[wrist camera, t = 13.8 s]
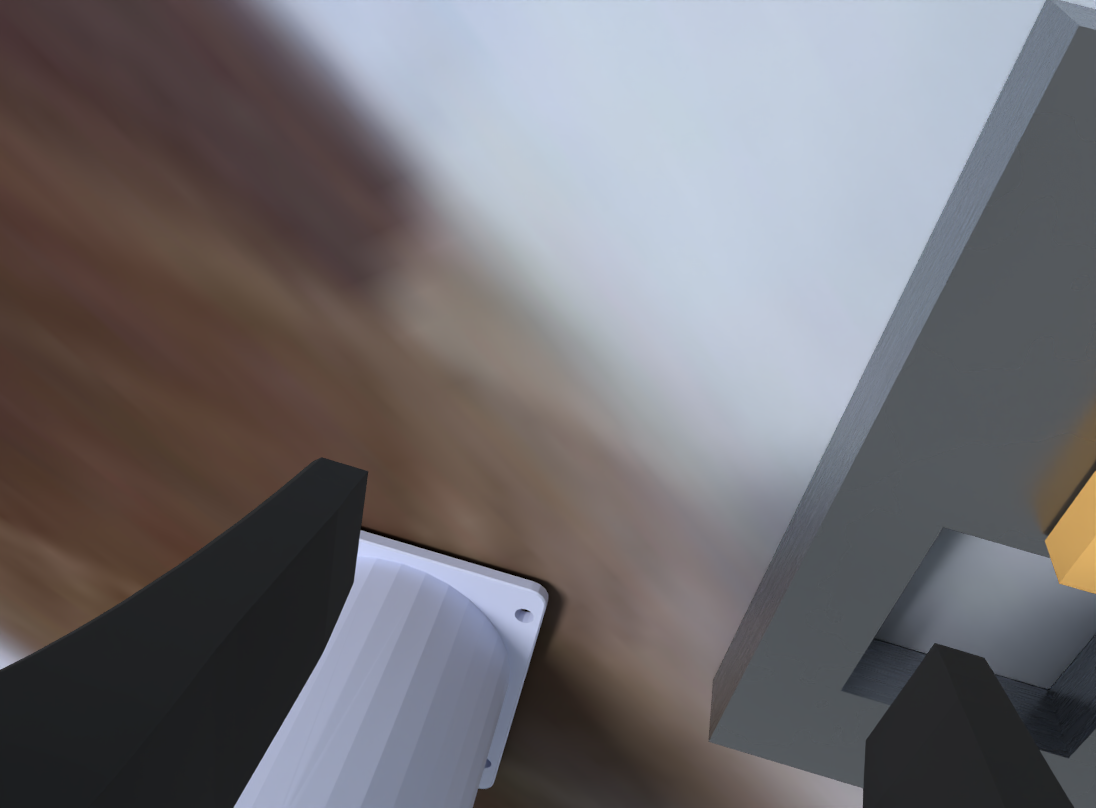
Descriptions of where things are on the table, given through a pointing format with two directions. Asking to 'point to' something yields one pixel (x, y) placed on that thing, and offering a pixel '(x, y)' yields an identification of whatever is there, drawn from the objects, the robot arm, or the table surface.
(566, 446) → the table surface
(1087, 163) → the dark grey socket tray
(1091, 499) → the bar
